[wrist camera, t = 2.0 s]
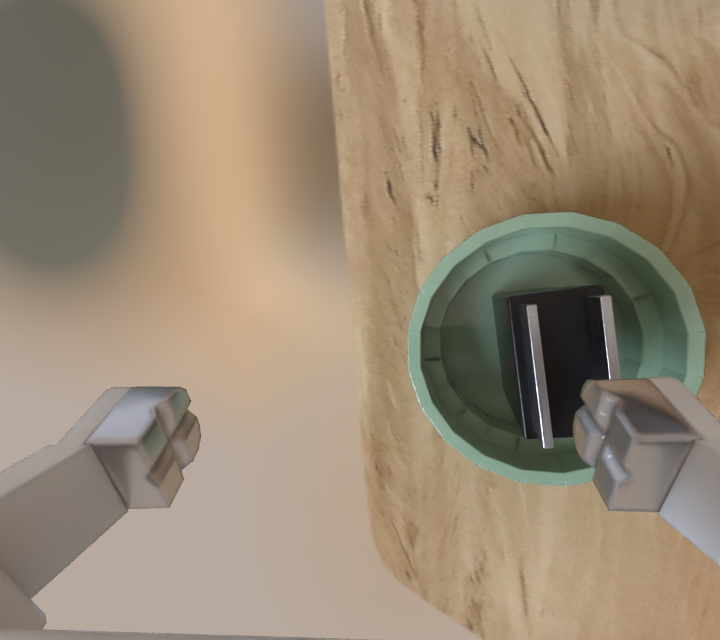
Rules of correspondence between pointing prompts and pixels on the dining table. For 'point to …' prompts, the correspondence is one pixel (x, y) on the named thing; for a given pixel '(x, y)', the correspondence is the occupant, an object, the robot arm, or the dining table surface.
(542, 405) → the clip
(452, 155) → the dining table surface
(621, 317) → the green bowl
